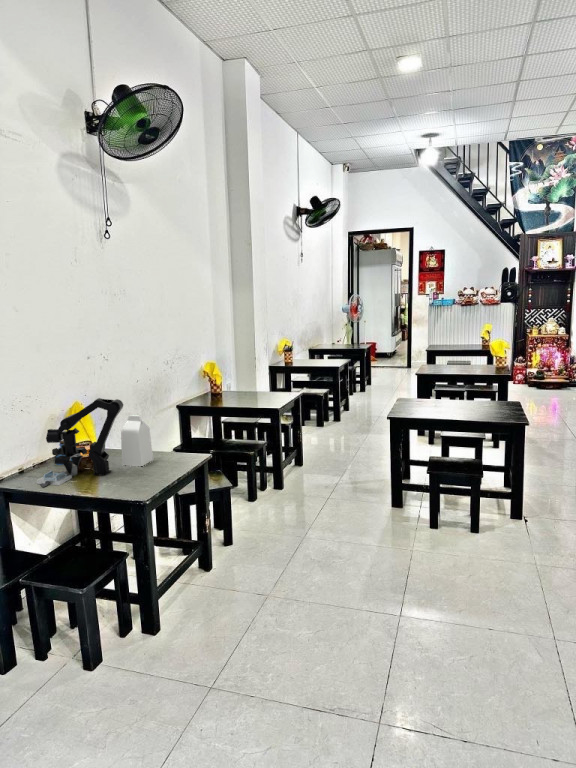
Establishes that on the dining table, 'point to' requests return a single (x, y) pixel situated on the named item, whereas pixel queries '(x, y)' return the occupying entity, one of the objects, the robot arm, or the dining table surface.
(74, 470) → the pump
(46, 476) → the motor block
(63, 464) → the perfume bottle
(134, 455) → the milk
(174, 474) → the dining table surface
